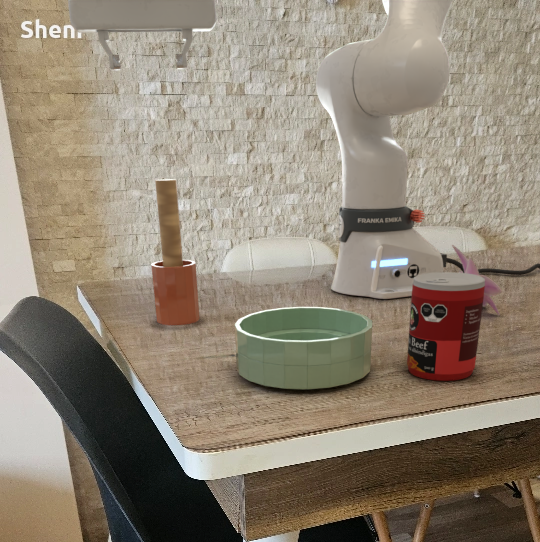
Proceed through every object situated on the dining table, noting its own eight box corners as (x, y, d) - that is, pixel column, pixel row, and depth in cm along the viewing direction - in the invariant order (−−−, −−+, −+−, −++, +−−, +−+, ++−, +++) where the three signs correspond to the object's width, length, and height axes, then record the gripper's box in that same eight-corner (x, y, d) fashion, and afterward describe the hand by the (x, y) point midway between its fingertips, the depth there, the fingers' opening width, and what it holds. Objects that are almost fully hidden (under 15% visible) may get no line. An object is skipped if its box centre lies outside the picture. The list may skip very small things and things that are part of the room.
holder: (198, 316, 108) (193, 258, 103) (201, 326, 102) (196, 266, 97) (156, 319, 107) (151, 260, 102) (157, 329, 101) (151, 268, 97)
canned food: (399, 363, 83) (405, 273, 78) (461, 360, 84) (471, 270, 79) (416, 383, 77) (424, 286, 71) (483, 380, 77) (496, 283, 72)
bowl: (349, 348, 90) (350, 303, 87) (388, 388, 76) (391, 336, 73) (230, 356, 87) (228, 311, 85) (247, 399, 73) (244, 346, 71)
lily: (493, 333, 98) (528, 272, 96) (422, 298, 99) (454, 237, 97) (484, 337, 110) (514, 282, 108) (420, 305, 111) (449, 251, 109)
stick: (187, 317, 105) (175, 178, 96) (188, 321, 103) (176, 180, 93) (168, 318, 105) (154, 179, 96) (168, 322, 102) (155, 180, 93)
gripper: (211, -46, 94) (218, 69, 100) (62, -47, 91) (79, 72, 97) (216, -57, 88) (223, 66, 95) (58, -58, 85) (75, 68, 91)
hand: (148, 69), depth 96 cm, fingers open, 8 cm apart
